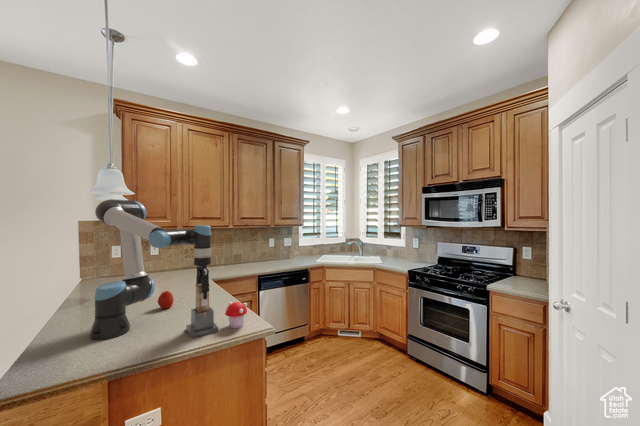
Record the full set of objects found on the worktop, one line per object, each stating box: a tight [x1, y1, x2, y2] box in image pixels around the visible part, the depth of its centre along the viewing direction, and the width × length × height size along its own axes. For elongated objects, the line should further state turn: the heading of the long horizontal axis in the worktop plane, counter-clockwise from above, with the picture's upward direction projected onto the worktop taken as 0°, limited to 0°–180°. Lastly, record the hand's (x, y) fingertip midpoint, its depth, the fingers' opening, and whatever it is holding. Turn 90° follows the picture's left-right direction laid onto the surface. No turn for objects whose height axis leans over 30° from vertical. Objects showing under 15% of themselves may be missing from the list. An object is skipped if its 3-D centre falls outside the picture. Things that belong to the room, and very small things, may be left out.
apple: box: [157, 290, 174, 310], centre depth 164 cm, size 8×8×11 cm
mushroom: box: [224, 301, 248, 329], centre depth 138 cm, size 11×11×12 cm
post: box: [195, 283, 210, 313], centre depth 132 cm, size 5×5×20 cm
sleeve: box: [185, 305, 219, 339], centre depth 132 cm, size 12×12×10 cm
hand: (202, 303), depth 132 cm, fingers open, 8 cm apart
